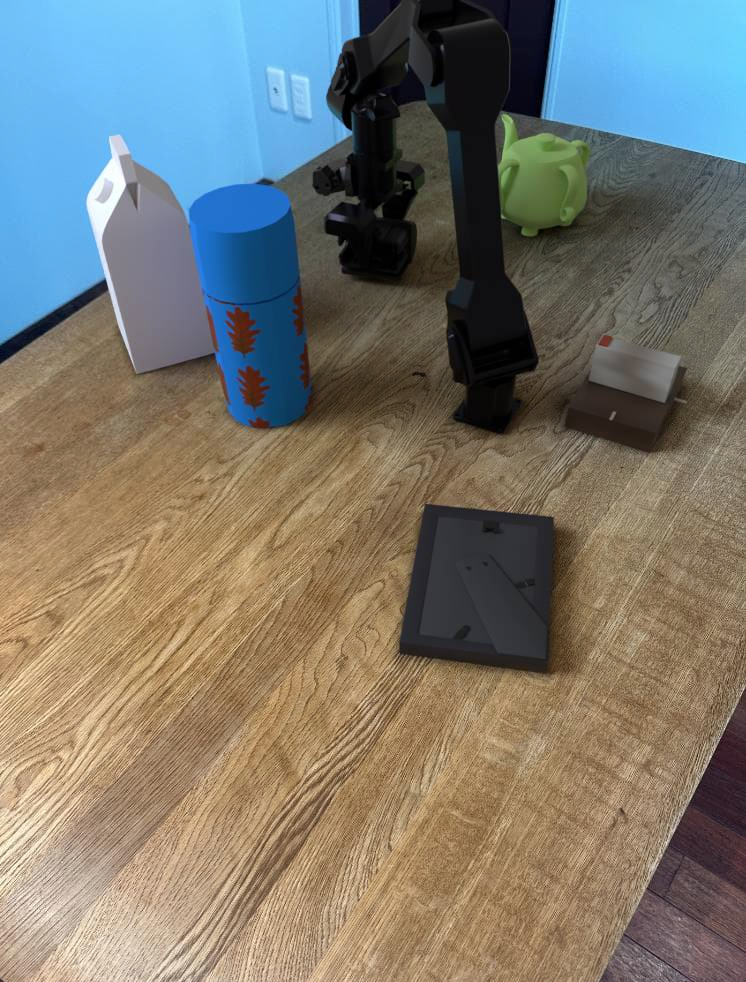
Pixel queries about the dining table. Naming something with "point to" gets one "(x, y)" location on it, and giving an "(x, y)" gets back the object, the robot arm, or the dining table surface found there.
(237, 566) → the dining table surface
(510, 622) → the picture frame
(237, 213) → the thermos
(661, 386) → the light gray block
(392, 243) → the end cap
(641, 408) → the dark brown pegged box
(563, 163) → the teapot
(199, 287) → the milk
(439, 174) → the dining table surface
